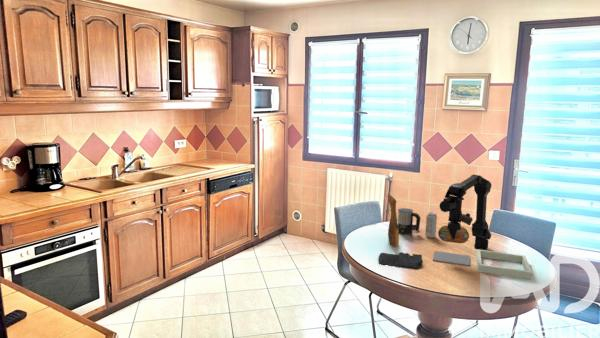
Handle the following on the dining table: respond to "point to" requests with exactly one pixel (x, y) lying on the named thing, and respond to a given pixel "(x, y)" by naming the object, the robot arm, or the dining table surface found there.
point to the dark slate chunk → (401, 260)
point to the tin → (459, 237)
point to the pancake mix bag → (393, 223)
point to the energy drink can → (431, 224)
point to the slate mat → (451, 258)
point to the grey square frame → (502, 270)
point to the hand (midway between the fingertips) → (453, 237)
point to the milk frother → (407, 221)
